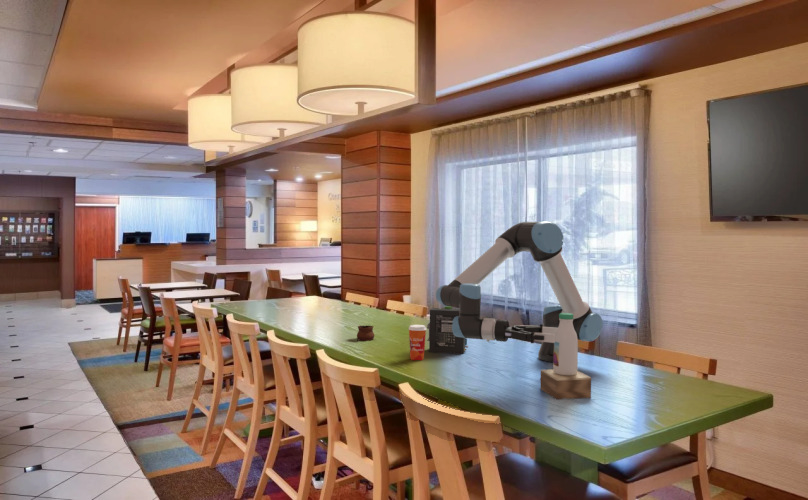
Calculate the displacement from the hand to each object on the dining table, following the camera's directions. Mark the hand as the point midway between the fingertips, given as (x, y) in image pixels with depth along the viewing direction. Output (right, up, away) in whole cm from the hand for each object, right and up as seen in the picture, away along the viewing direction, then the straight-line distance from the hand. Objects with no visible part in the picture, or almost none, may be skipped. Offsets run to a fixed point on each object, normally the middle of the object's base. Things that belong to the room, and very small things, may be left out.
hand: (558, 335), depth 188 cm
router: (-32, -17, +65) cm, 75 cm away
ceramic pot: (-71, -17, +91) cm, 117 cm away
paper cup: (-46, -18, +48) cm, 69 cm away
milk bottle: (+2, -13, 0) cm, 13 cm away
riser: (+2, -19, 0) cm, 19 cm away
